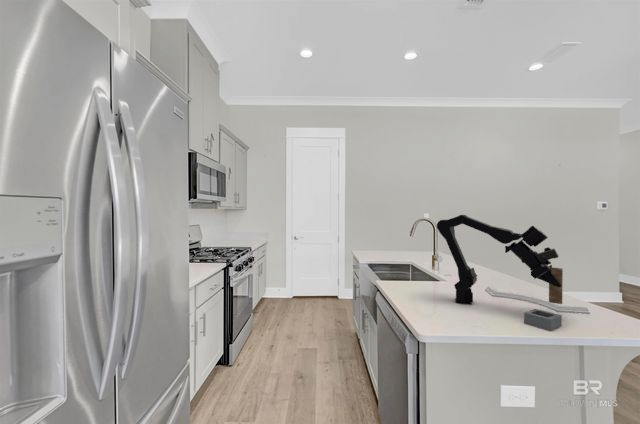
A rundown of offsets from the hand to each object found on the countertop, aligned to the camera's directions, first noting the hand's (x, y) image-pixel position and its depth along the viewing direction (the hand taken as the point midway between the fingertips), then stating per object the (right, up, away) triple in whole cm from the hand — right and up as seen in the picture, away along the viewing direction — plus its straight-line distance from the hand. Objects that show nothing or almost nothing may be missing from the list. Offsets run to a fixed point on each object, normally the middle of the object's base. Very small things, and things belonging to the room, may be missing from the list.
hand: (560, 285), depth 113 cm
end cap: (-11, -13, -5) cm, 18 cm away
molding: (+6, -14, +24) cm, 29 cm away
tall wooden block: (-1, -7, +1) cm, 7 cm away
